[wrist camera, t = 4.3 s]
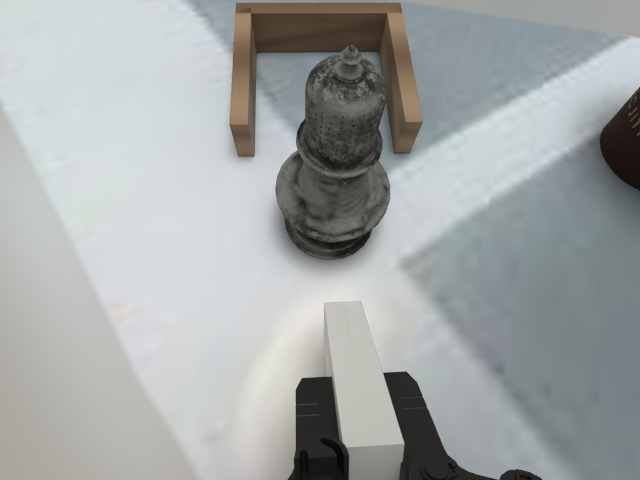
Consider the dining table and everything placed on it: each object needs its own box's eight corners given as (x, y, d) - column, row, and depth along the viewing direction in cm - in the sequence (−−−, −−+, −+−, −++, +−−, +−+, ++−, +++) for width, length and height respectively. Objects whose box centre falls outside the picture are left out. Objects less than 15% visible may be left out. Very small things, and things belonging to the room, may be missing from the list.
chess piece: (353, 282, 21) (405, 155, 10) (261, 237, 22) (216, 74, 11) (393, 199, 23) (473, 19, 12) (308, 161, 24) (310, -40, 13)
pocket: (409, 152, 25) (422, 121, 22) (238, 156, 24) (229, 124, 21) (390, 41, 28) (400, 2, 26) (242, 42, 28) (236, 2, 25)
